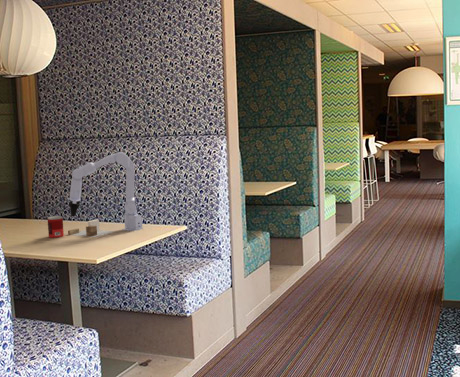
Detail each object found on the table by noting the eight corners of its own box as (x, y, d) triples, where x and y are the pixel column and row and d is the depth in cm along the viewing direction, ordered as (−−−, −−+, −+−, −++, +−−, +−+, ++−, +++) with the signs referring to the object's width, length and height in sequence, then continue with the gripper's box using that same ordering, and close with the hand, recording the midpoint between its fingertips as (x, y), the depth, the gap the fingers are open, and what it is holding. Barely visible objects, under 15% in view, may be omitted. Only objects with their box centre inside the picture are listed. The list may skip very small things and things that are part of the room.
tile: (99, 232, 345) (98, 219, 344) (91, 234, 338) (90, 221, 338) (96, 231, 345) (96, 219, 345) (88, 234, 339) (87, 221, 339)
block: (97, 234, 336) (96, 225, 335) (92, 236, 332) (91, 227, 332) (91, 234, 338) (90, 225, 337) (86, 235, 334) (85, 226, 334)
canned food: (66, 236, 338) (65, 216, 337) (58, 239, 330) (56, 218, 329) (54, 235, 340) (53, 215, 339) (45, 238, 333) (44, 218, 332)
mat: (115, 232, 345) (115, 231, 345) (95, 237, 330) (95, 236, 330) (88, 230, 354) (87, 229, 354) (67, 235, 340) (66, 234, 340)
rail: (79, 232, 344) (78, 228, 344) (70, 235, 338) (70, 230, 338) (77, 232, 345) (76, 228, 345) (68, 234, 339) (67, 230, 339)
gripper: (68, 188, 348) (66, 212, 349) (67, 191, 334) (65, 216, 335) (81, 189, 350) (79, 213, 351) (81, 192, 336) (78, 217, 337)
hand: (73, 215), depth 343 cm, fingers open, 7 cm apart
